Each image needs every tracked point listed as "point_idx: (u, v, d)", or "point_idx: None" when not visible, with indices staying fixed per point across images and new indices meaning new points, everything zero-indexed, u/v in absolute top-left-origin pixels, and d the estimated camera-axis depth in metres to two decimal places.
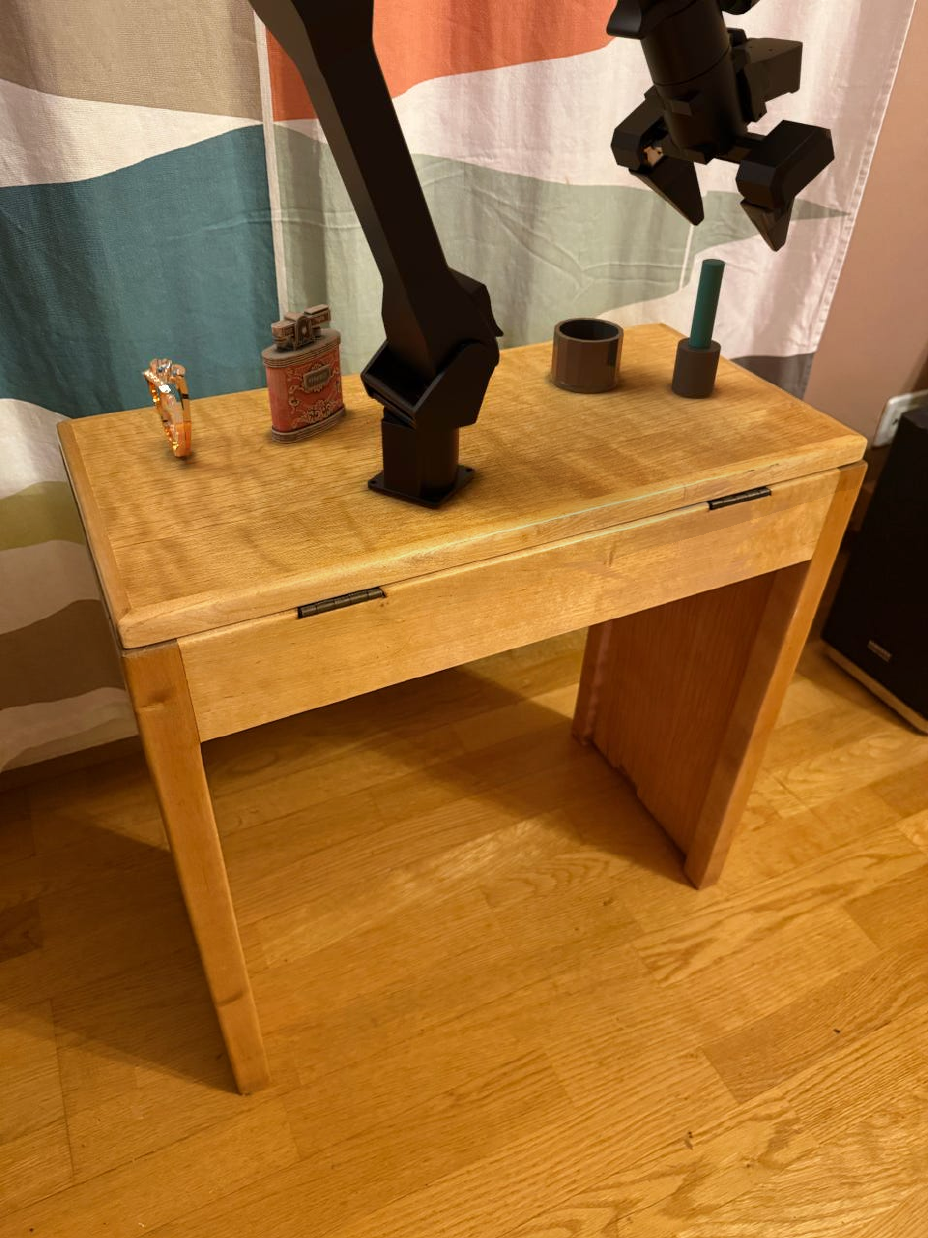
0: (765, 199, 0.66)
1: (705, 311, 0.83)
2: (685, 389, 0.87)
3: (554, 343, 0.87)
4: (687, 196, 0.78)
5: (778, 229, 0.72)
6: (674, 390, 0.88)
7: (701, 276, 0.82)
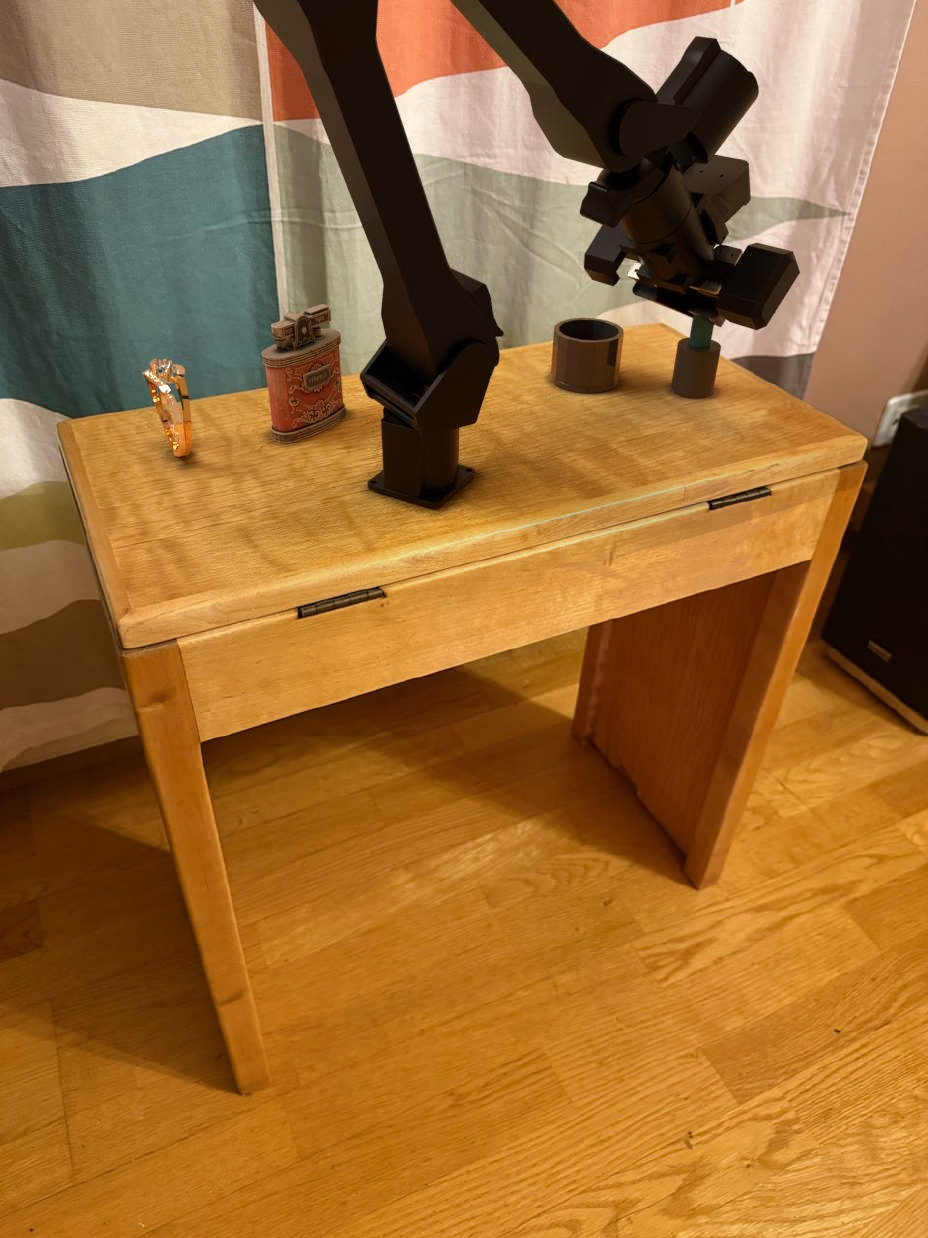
0: (747, 323, 0.74)
1: None
2: (685, 389, 0.87)
3: (554, 343, 0.87)
4: (690, 301, 0.83)
5: None
6: (674, 390, 0.88)
7: None
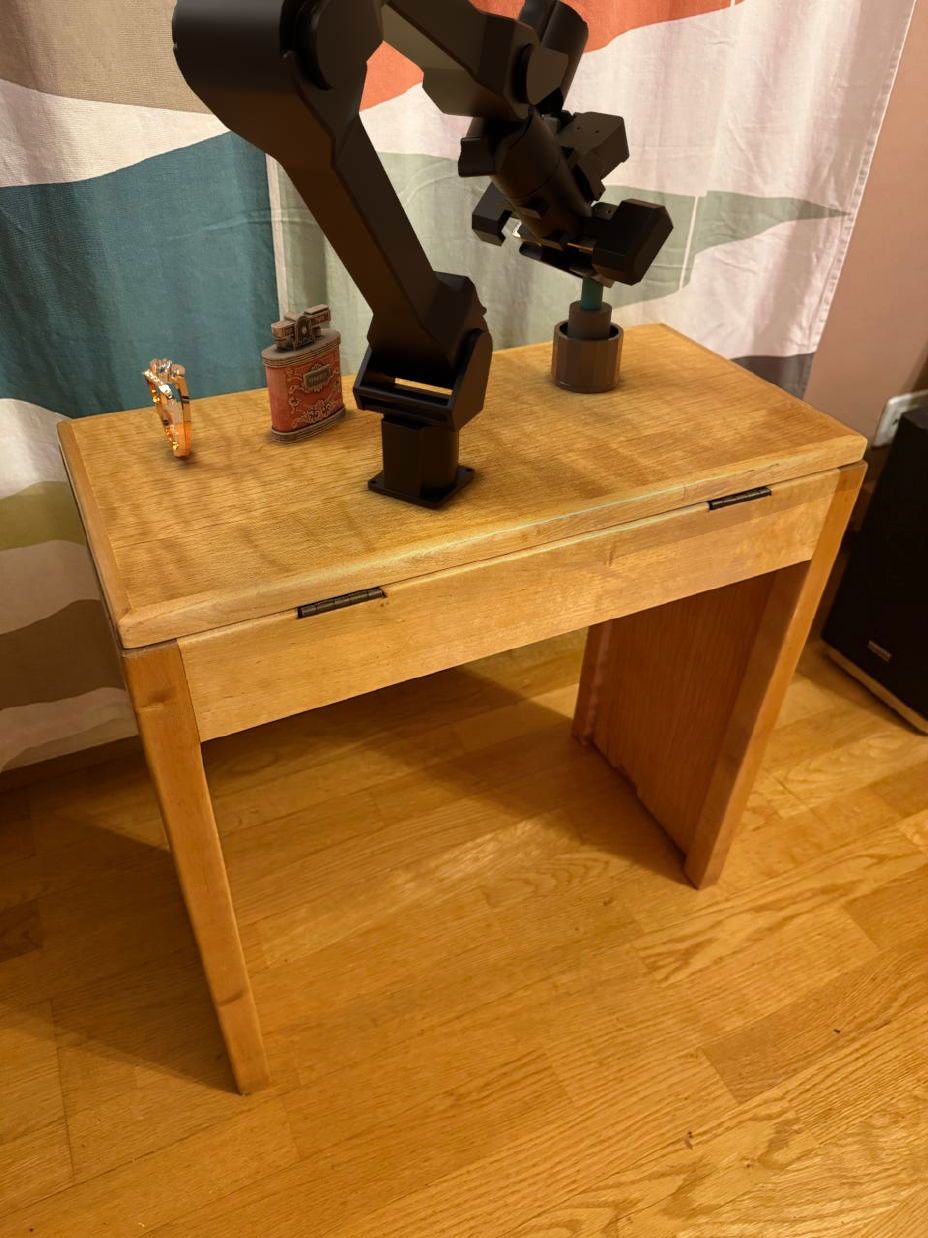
0: (621, 279, 0.74)
1: None
2: None
3: (554, 343, 0.87)
4: None
5: None
6: None
7: None
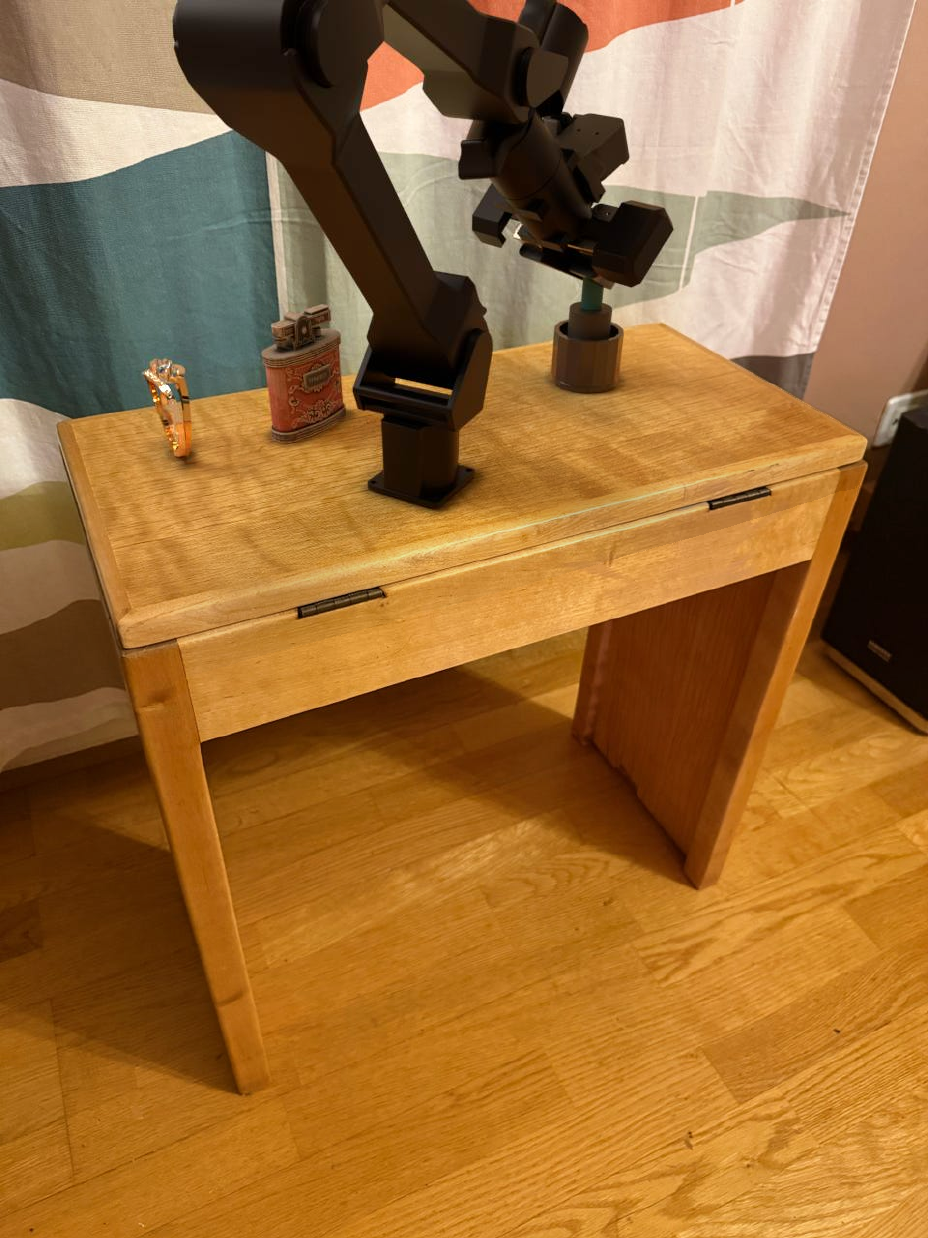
0: (621, 280, 0.74)
1: None
2: None
3: (554, 343, 0.87)
4: None
5: None
6: None
7: None
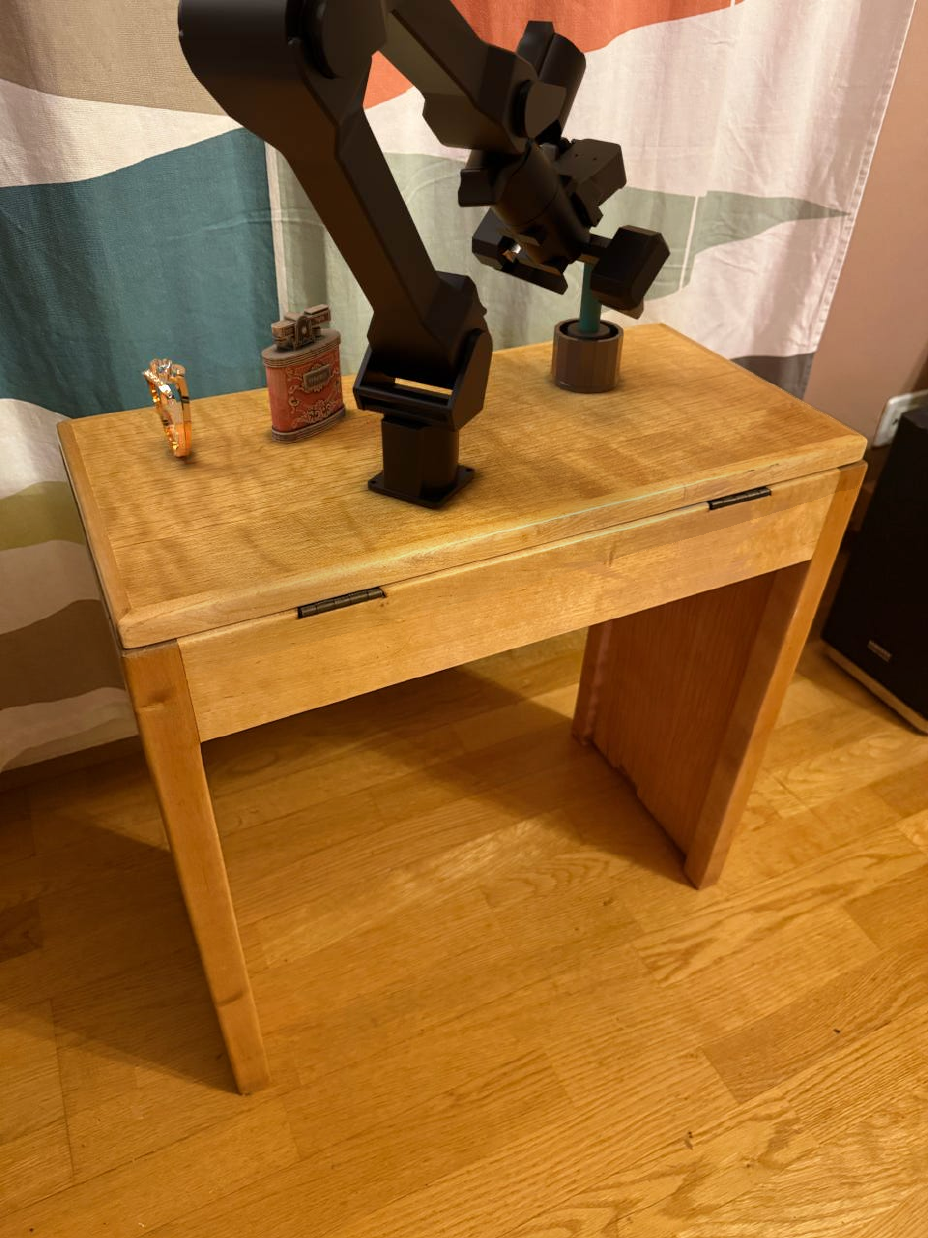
0: (619, 304, 0.75)
1: (590, 295, 0.84)
2: None
3: (554, 343, 0.87)
4: (549, 275, 0.87)
5: None
6: None
7: None
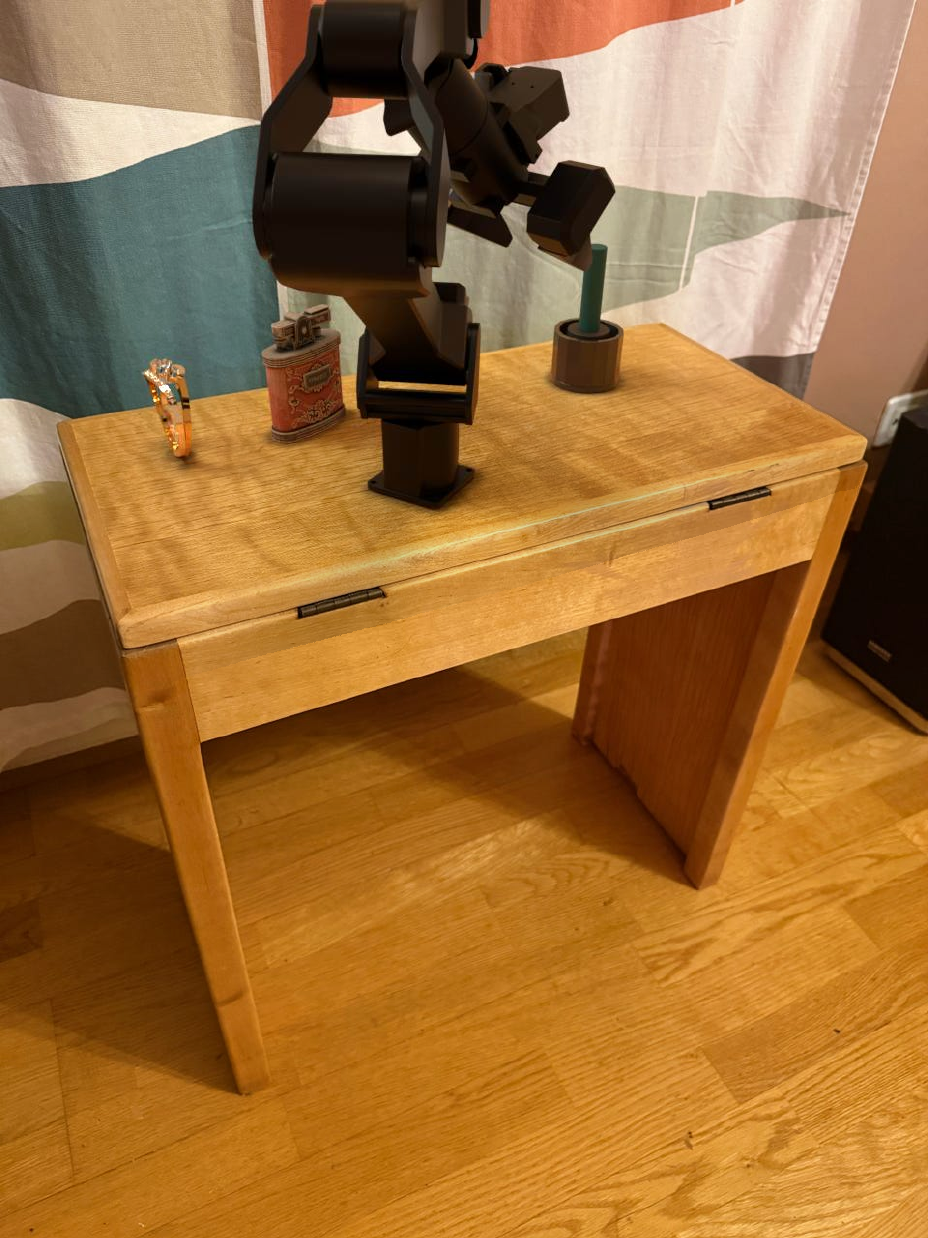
0: (558, 248, 0.67)
1: (590, 295, 0.84)
2: None
3: (554, 343, 0.87)
4: (490, 225, 0.79)
5: (581, 255, 0.73)
6: None
7: None
